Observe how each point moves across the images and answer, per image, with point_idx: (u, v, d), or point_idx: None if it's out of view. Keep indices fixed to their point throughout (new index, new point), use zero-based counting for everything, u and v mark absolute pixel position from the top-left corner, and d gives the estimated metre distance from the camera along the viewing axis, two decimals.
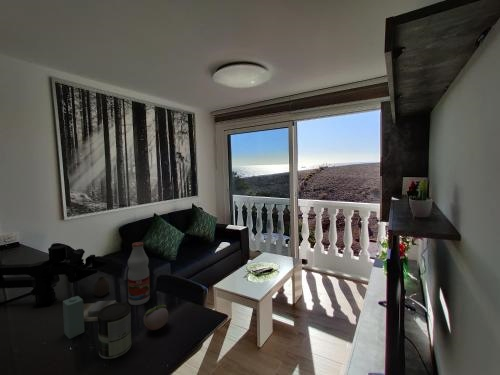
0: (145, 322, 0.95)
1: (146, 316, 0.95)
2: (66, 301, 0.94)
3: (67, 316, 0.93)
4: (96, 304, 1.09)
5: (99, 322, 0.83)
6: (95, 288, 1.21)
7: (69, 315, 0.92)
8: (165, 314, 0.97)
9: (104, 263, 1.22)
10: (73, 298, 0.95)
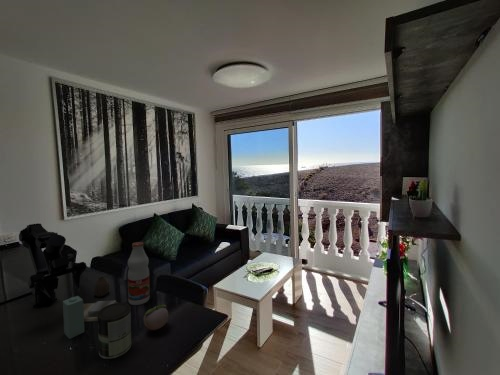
0: (145, 322, 0.95)
1: (146, 316, 0.95)
2: (66, 301, 0.94)
3: (67, 316, 0.93)
4: (96, 304, 1.09)
5: (99, 322, 0.83)
6: (95, 288, 1.21)
7: (69, 315, 0.92)
8: (165, 314, 0.97)
9: (77, 286, 1.04)
10: (73, 298, 0.95)
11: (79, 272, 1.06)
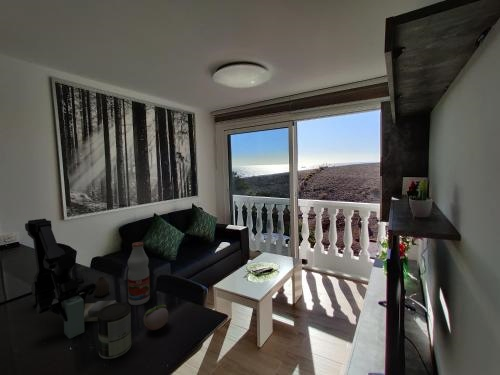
0: (145, 322, 0.95)
1: (146, 316, 0.95)
2: (67, 301, 0.95)
3: (67, 316, 0.93)
4: (96, 304, 1.09)
5: (99, 322, 0.83)
6: None
7: (69, 314, 0.92)
8: (165, 314, 0.97)
9: None
10: (74, 298, 0.95)
11: (84, 296, 0.99)
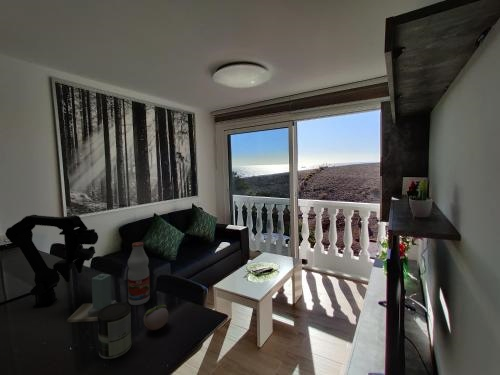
0: (145, 322, 0.95)
1: (146, 316, 0.95)
2: (95, 278, 1.06)
3: (100, 290, 1.05)
4: None
5: (99, 322, 0.83)
6: None
7: (102, 288, 1.05)
8: (165, 314, 0.97)
9: (79, 271, 1.19)
10: (101, 274, 1.07)
11: (85, 259, 1.21)
